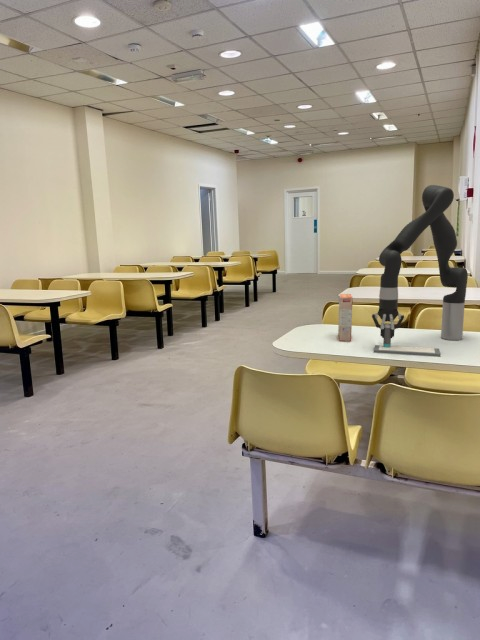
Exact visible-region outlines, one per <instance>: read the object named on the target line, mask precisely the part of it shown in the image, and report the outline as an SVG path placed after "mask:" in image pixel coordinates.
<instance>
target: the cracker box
mask: <svg viewBox="0 0 480 640" xmlns="http://www.w3.org/2000/svg"><path fill="white" fill-rule="evenodd" d="M338 298H339V299H338V331H337V332H338V333H337V335H338V341H339V342H352V330H353V329H352V326H353V322H352V321H353V299H354V298H353V296H352V294H351V293H339V296H338Z"/></svg>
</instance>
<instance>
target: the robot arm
mask: <svg viewBox="0 0 480 640" xmlns="http://www.w3.org/2000/svg"><path fill="white" fill-rule="evenodd" d="M454 196H455V193H454V191H453V189H451V188H450V187H447V186H442V185H437V184H431V185H427V186H426V187H425V188H424V189H423V192H422V194H421V201H422V206H423V209H424V212H423V213H422V214H421V215H419V216H418V217H417V218H415V219H413V220H411V221H410V222H408V224H406V225H405V226H404V227H403V228H402V229H401V231H400V232H399V233H398V234H397V236H396V237H395V238H394V239H393V241H391V242H390V243H389V244H387V246H386V247H385V248H384V249H383V250H382V251H381V252H380V254H379V256H378V261H379V262H378V263H379V264H380V265H381V266H383V267H384V271H383V273H382V274H380V284H379V285H380V289H379V295H378V297H379V298H378V299H379V300H378V302H379V303H378V311H377V312H376V313H373V314H372V315H371V317H372V321H373V323H374V325H375V327H376V328H378V329H380V337H381V338H382V339H384V324H385V323H386V322H388V323H389V324H391V339H393V338H394V337H395V330H397V329H399V328H400V326H401V324H402V323H403V320H404V319H405V314H400V313H399V311H398V309H399V308H398V306H399V301H398V300H399V288H398V287H399V275H400V272H401V266H402V255H401V254H402V253H404V252H406V251H408V250H409V249H410V248H411V247H412V245H413V244H414V243H415V242H416V241H417V240H418V238H419V237H420V236H421V234H422V233H423V232H424V231H425V230H426V229H427V228H428V227H429V226H430V227H429V228H430V231H431V235H432V236H431V237H432V240H433V246H434V249H435V254H436V258H437V263H438V271H439V280H440V283H441V285H442V286H443V287H445V288H454V289H455V288H456V289H455V291H454V292H452V293H449V294H445V295H444V296H443V297H442V313H441V332H440V338H441V339H443V340H449V341H460V340H463V334H464V333H463V332H464V321H465V319H464V318H465V317H464V316H465V304H466V303H465V300H466V295H467V287H468V285H467V284H468V279H469V278H468V277H469V276H468V275H469V274H468V270H467V269H466V268H465V267H451V266H450V265H449V263H450V262H449V261H450V259H451V257H452V255H453V254H454V253H455V251H456V249H457V247H458V240H457V234H456V231H455V228H454V226H453V225H452V224H451V222H450V220H449V219H448V217H446V215H445V213H444V212H445V211H446V210H448V208H449V207H450V206H451V204H452V203H453V201H454ZM378 317H379V318H380V319H381V324H380V323H379V321H378ZM396 318H397V319H398V322H396V323H397V324H396V325H395V319H396Z"/></svg>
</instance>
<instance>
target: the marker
mask: <svg viewBox="0 0 480 640" xmlns="http://www.w3.org/2000/svg"><path fill="white" fill-rule="evenodd" d="M382 341H383V343H382V344H383V347H386V348H389V347H391V346H392V344H391V343H392V338H391V323H390V322H387V323H386V322H385V323H384V338H383V340H382Z"/></svg>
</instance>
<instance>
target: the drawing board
mask: <svg viewBox="0 0 480 640" xmlns="http://www.w3.org/2000/svg"><path fill="white" fill-rule="evenodd" d="M373 353H375V354H376V353H377V354H391V355H392V354H393V355H408V356H410V355H411V356H422V357H423V356H425V357H426V356H427V357H437V358H438V357H441V351H440V348H437V347H434V348H433V347H420V346H417V347H416V346H399V345H391V347H389V348H386V347H383V345H382V344H381V345H380V344H374V348H373Z"/></svg>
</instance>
